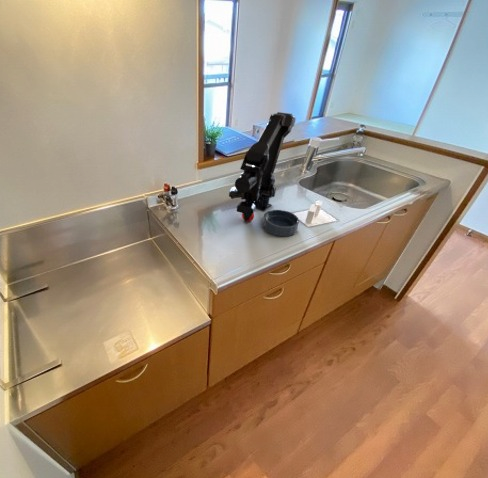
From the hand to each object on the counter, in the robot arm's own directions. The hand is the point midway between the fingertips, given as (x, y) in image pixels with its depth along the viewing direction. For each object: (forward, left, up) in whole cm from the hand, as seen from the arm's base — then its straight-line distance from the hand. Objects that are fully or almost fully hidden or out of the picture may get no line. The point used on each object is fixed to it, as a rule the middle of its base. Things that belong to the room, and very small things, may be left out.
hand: (247, 218), depth 112 cm
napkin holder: (-23, +18, -2) cm, 29 cm away
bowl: (-5, +12, -1) cm, 13 cm away
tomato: (0, 0, -1) cm, 1 cm away
